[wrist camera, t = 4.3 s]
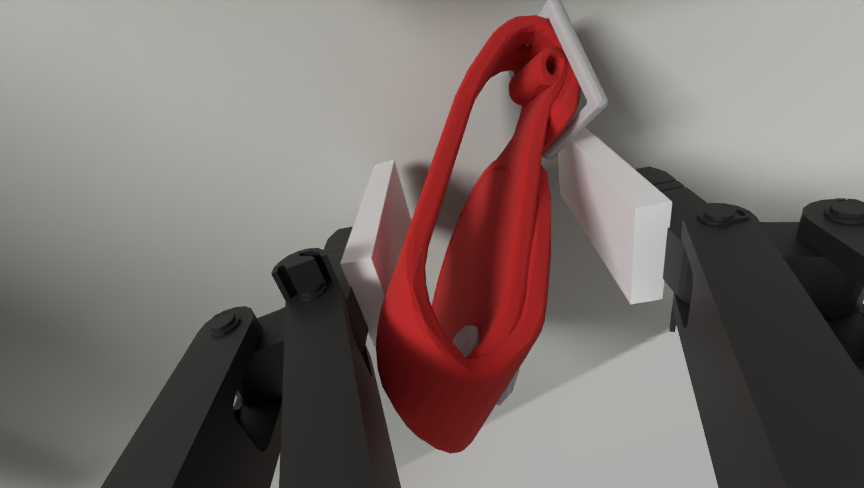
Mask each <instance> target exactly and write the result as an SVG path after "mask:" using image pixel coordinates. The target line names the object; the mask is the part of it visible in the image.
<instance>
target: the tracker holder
mask: <svg viewBox="0 0 864 488" xmlns="http://www.w3.org/2000/svg"><path fill="white" fill-rule="evenodd" d="M503 71H508V73H509V76H510V78H511V80H510V83H509V95H510V97H511V99H512V100H513V101H514V102H515V103H517V104H520V105H522V109H521V113H520V117H519V120H518V123H517V127H516V130H515V133H514V135H513V137H512V139H511V140H510V142H509V143H508V145H507V146H506V148H505V149H504V150H503V152H502V153H501V154H500V156H499V157H498V158H497V160H495V161H493V162H492V163H491V164H490V165H489V166H488V168H487V169H486V170H485V171H484V172H483V174H482V175H481V177H480V178H479V180H478V181H477V183H476V185H475V186H474V188H473V190H472V192H471V194H470V195H469V197H468V199H467V201H466V203H465V205H464V207H463V209H462V212H461V214H460V217H459V219H458V221H457V224H456V226H455V229H454V232H453V234H452V237H451V240H450V242H449V245H448V248H447V251H446V254H445V258H444V261H443V264H442V267H441V271H440V275H439V278H438V282H437V285H436V289H435V293H434V298H433V303H432V305H431V303H430V301H429V296H428V291H427V286H426V273H425V265H426V259H427V252H428V246H429V243H430V240H431V236H432V233H433V230H434V227H435V224H436V220H437V217H438V214H439V211H440V208H441V205H442V201H443V198H444V195H445V192H446V189H447V185H448V182H449V179H450V176H451V173H452V170H453V166H454V163H455V160H456V157H457V154H458V150H459V147H460V144H461V141H462V138H463V134H464V131H465V128H466V125H467V122H468V119H469V115H470V112H471V109H472V107H473V104H474V101H475V99H476V98H477V96H478V94H479V93H480V91H481V90H482V88H483V87H484V85H485V84H486V82H487V81H488V80H489V79H490V78H491V77H493V76H495V75H496V74H498V73H500V72H503ZM581 89H582V91H583V93H584V95H585V97H586V99H587V104H586V106H585V107H584V108H583V109H582V110H581V111H580V112H579V113H578V114H577V115H576V116H575V117H574V118H573V119H572V120H571V118H572V117H573V115H574V114H575V112H576V110H577V107H578V104H579V98H580V92H581ZM607 106H608V98H607V96H606V94H605V92H604V90H603V88H602V86H601V84H600V82H599V80H598V78H597V75H596V73H595V71H594V69H593V67H592V65H591V63H590V61H589V59H588V57H587V55H586V53H585V50H584V48H583V46H582V44H581V42H580V40H579V38H578V36H577V34H576V32H575V30H574V28H573V25H572V23H571V21H570V19H569V17H568V15H567V13H566V11H565V9H564V7H563V5H562V3H561V1H560V0H547V1H546V3H545V4H544V6H543V7H542V9H541V11H540V12H539V14H538V15H535V16H519V17H515V18H513V19H511V20H509V21H507V22H506V23H504V24H503V25H502V26H500V27H499V28H498V29H497V30H496V31H495V32H494V33H493V34H492V35H491V37H490V38H489V39H488V41H487V42H486V44H485V45H484V47H483V48H482V50H481V51H480V53H479V54H478V56H477V57H476V59H475V60H474V62H473V63H472V65H471V66H470V68H469V69H468V71H467V73H466V75H465V77H464V79H463V81H462V83H461V85H460V87H459V89H458V91H457V93H456V95H455V98H454V101H453V104H452V107H451V109H450V112H449V115H448V118H447V121H446V124H445V127H444V129H443V132H442V135H441V138H440V141H439V144H438V146H437V149H436V152H435V155H434V158H433V161H432V164H431V166H430V169H429V172H428V175H427V178H426V181H425V184H424V187H423V189H422V192H421V195H420V198H419V201H418V204H417V207H416V209H415V212H414V215H413V218H412V221H411V224H410V227H409V230H408V232H407V235H406V238H405V241H404V244H403V247H402V250H401V252H400V255H399V258H398V261H397V264H396V267H395V270H394V273H393V275H392V278H391V281H390V284H389V287H388V290H387V293H386V295H385V298H384V301H383V304H382V307H381V311H380V316H379V321H378V328H377V337H376V353H377V365H378V372H379V375H380V379H381V383H382V387H383V388H384V390H385V392H386V394H387V396H388V397H389V399H390V401H391V403H392V405H393V406H394V408H395V410H396V412H397V413H398V415H399V416H400V417H401V419H402V420H403V421H404V423H405V424H406V426H407V427H408V428H409V429H410V430H411V431H412V432H413V433H414V434H415V435H416V436H417V437H419V438H420V439H422V440H424V441H425V442H427V443H428V444H430V445H431V446H433V447H435V448H436V449H439V450H442V451H445V452H448V453H457V452H461V451H463V450H464V449H465V448H466V447H467V446H468V445H469V444H470V443H471V442H472V441H473V440H474V438H475V436H476V435H477V433H478V432H479V430H480V429H481V427H482V426H483V424H484V422H485V421H486V419H487V418H488V416H489V415H490V413H491V411H492V410H493V408H494V407H495V405H500V404H501V403H502V402H503V401H504V400H505V399H506V398H507V397H508V396H509V394H510V393H511V392H512V390H513V388H514V384H515V381H516V378H517V375H518V372H519V367H520V366H521V364H522V362H523V361H524V359H525V358H526V356H527V355H528V353H529V351H530V350H531V348H532V346H533V345H534V343H535V341H536V340H537V338H538V336H539V335H540V333H541V330H542V327H543V324H544V321H545V313H546V305H547V297H548V285H549V273H550V260H551V197H550V188H549V182H548V177H547V172H546V170H545V169H544V168H543V166H542V165H541V159H542V156H543V157H544V158H546V159H551V158H553V157H554V156H555V155H556V154H557V153H558V152H559V151H560V150H562V149H563V148H564V147H565V146H566V145H567V144H568V143H569V142H570V141H571V140H572V139H573V138H574V137H575V136H576V135H577V134H578V133H579V132H580V131H582V130H583V129H584V128H585V127H586V126H587V125H588V124H589V123H590V122H591V121H592V120H593V119H594V118H595V117H596V116H597V115H598V114H599V113H600V112H602V111H603V110H604V109H605V108H606V107H607ZM570 120H571V121H570ZM569 121H570V122H569Z"/></svg>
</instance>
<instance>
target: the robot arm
mask: <svg viewBox="0 0 864 488" xmlns="http://www.w3.org/2000/svg"><path fill="white" fill-rule="evenodd" d="M558 170H559V187H560V195H561V197H562V198H563V200H564V201H565V203H566V204H567V206H568V207H569V209H570V211H571V212H572V214H573V215H574V217H575V218H576V220H577V221H578V223H579V225H580V226H581V228H582V229H583V231H584V232H585V234H586V235H587V237H588V239H589V240H590V242H591V243H592V245H593V246H594V248H595V250H596V251H597V253H598V254H599V256H600V257H601V259H602V260H603V262H604V264H605V265H606V267H607V268H608V270H609V271H610V273H611V274H612V276H613V278H614V279H615V281H616V282H617V284H618V285H619V287H620V288H621V290H622V292H623V293H624V295H625V296H626V298H627V299H628V301H629V303H630V304H637V303H643V302H649V301H655V300H662V298H663V289H664V280H665V282H666V283H667V284H668V285H669V286H670V288H671V289H672V290H673V291H674V297H673V305H672V313H671V322H670V331H671V332H675V327H676V325H677V328H678V332H679V336H680V340H681V344H682V347H683V351H684V355H685V359H686V363H687V366H688V370H689V374H690V378H691V382H692V386H693V390H694V394H695V398H696V401H697V406H698V409H699V413H700V417H701V421H702V425H703V429H704V432H705V436H706V440H707V444H708V448H709V452H710V456H711V460H712V464H713V468H714V472H715V475H716V479H717V483H718V487H719V488H864V304H863V300H864V202H861V201H859V200H855V199H848V200H846V199H841V198H837V199H830V200H820V201H816V202H813V203H810V204H808V205H807V206H806V207H804V208H803V212H802V215H801V219H800V222H759V220H758V219H757V217H756V216H755V215H754V214H752V213H751V212H750V211H749V210H746V209H744V208H741V207H739V206H734V205H729V204H721V203H706V202H705V201H704V200H702V199H701V198H700V197H698V196H697V195H696V194H694V193H693V192H692V191H691V190H689V189H688V188H687V187H685V188H684V185H683V184H681V183H680V182H679V181H676V179H675V178H673V177H672V176H671V175H669V174H668V173H667V172H665V171H662V170H659V169H655V168H652V167H645V168H640V169H634V168H632V167H631V166H630V165H629V164H628V163H627V162H625V161H624V160H623V159H622V158H621V157H620V156H618V155H617V154H616V153H615V152H614V151H613V150H611V149H610V148H609V147H608V146H607V145H606V144H604V143H603V142H602V141H601V140H600V139H599V138H598V137H596V136H595V135H594V134H593V133H592V132H591V131H589V130H588V129H587V128H586V127H585V128H584V129H583V130H582V131H580V132H579V133H578V134H577V135H576V136H575V137H574V138H573V139H572V140H571V141H570V142H569V143H568V144H567V145H566V146H565V147H564V148H563V149H562V150H560V151H559V152H558ZM410 224H411V218H410V214H409V211H408V207H407V203H406V200H405V196H404V193H403V189H402V186H401V182H400V179H399V175H398V172H397V168H396V164H395V161H394V160H391V161H386V162H382V163H377V164H374V167H373V170H372V173H371V176H370V179H369V182H368V185H367V187H366V190H365V193H364V196H363V199H362V202H361V205H360V208H359V211H358V214H357V216H356V219H355V222H354V225H353V227H348V228H343V229H338V230H337V231H336V232H335V233H334V234H333V235H332V236H331V237H330V238H329V239H328V240H327V243H326V245H325V247H324V250H322V249H319V248H309V249H305V250H301V251H298V252H296V253H293V254H291V255H289V256H287V257H286V258H284V259H283V260H281V261H280V262H279V263H278V264H277V265H276V266H275V267H274V269H273V271H272V273H271V274H272V276H273V278H274V280H275V282H276V284H277V286H278V287H279V289H280V291H281V293H282V295H283V297H284V299H285V301H286V307H284V308H282V309H280V310H278V311H275V312H272V313H270V314H267V315H265V316H262V317H260V318H256V316H255V314H254V313H253V311H252V309H251V308H248V307H245V306H244V307H235V308H232V309H229V310H225V311H223V312H221V313H219V314H217V315H215V316H214V317H213V318H212V319H211V320H209V321H208V322H207V323H205V325H204V326H203V327H202V328H201V329H200V331H199V332H198V333H197V335H196V337H195V338H194V340H193V341H192V343H191V345H190V346H189V348H188V349H187V351H186V353H185V354H184V356H183V357H182V359H181V361H180V362H179V364H178V365H177V367H176V369H175V370H174V372H173V373H172V375H171V377H170V378H169V380H168V381H167V383H166V384H165V386H164V388H163V389H162V391H161V392H160V394H159V396H158V397H157V399H156V400H155V402H154V404H153V405H152V407H151V408H150V410H149V412H148V413H147V415H146V416H145V418H144V420H143V421H142V423H141V424H140V426H139V428H138V429H137V431H136V432H135V434H134V435H133V437H132V439H131V440H130V442H129V443H128V445H127V447H126V448H125V450H124V451H123V453H122V455H121V456H120V458H119V459H118V461H117V463H116V464H115V466H114V467H113V469H112V471H111V472H110V474H109V475H108V477H107V479H106V480H105V482H104V483H103V485H102V486H101V488H270V486H271V482H272V479H273V475H274V472H275V468H276V464H277V461H278V457H279V454H280V478H279V488H401V486H400V481H399V477H398V472H397V468H396V464H395V460H394V455H393V451H392V447H391V442H390V438H389V434H388V429H387V425H386V421H385V417H384V412H383V408H382V404H381V399H380V395H379V391H378V386H377V382H376V378H375V373H374V369H373V365H372V361H371V356H370V354H369V352H368V349H367V347H366V345H365V344H366V339H367V334H368V333H369V335H370V337H371V340H372V342H373V345H374V346H376V337H377V328H378V321H379V316H380V311H381V307H382V304H383V301H384V298H385V295H386V293H387V290H388V287H389V284H390V281H391V278H392V275H393V273H394V270H395V267H396V264H397V261H398V258H399V255H400V252H401V250H402V247H403V244H404V241H405V238H406V235H407V232H408V230H409V227H410ZM235 396H236V397H237V401H236V403H235V406H234V407H233V403H234V399H235Z"/></svg>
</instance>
